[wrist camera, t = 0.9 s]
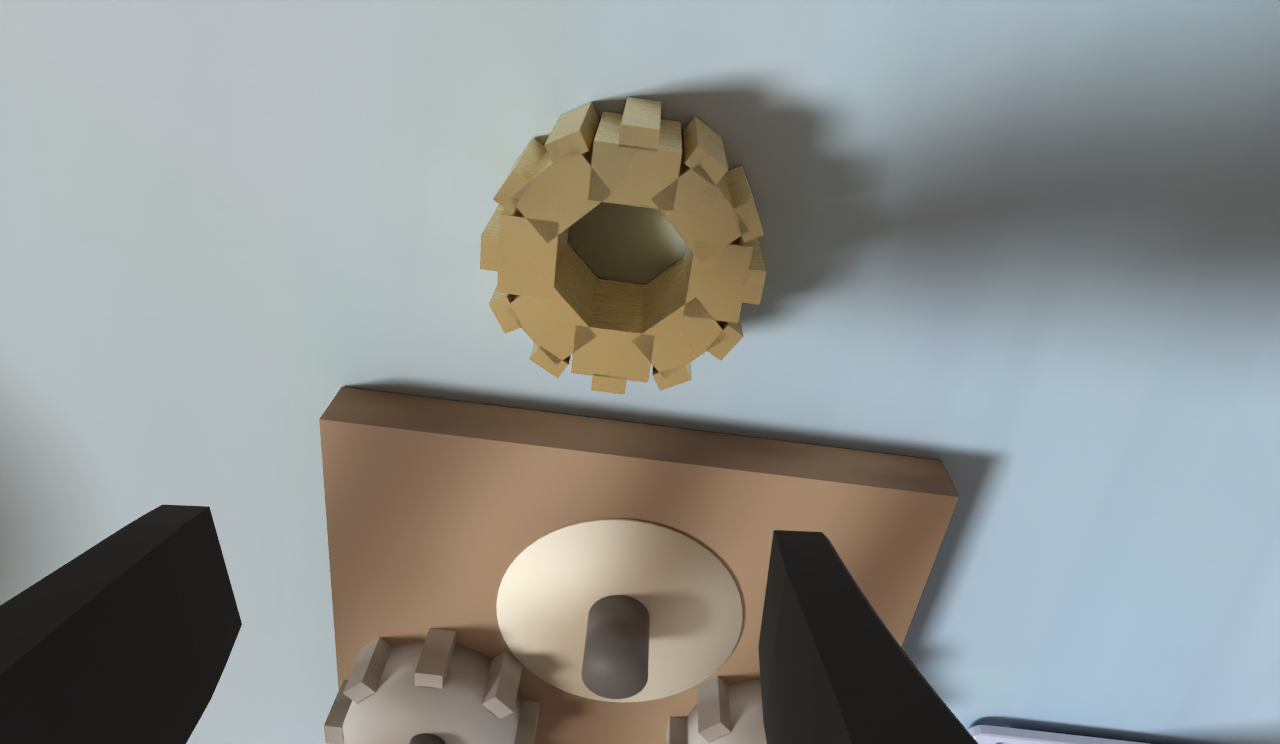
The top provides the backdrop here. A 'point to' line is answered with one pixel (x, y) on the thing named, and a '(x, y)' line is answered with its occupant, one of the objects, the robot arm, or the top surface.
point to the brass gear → (610, 310)
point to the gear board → (584, 568)
